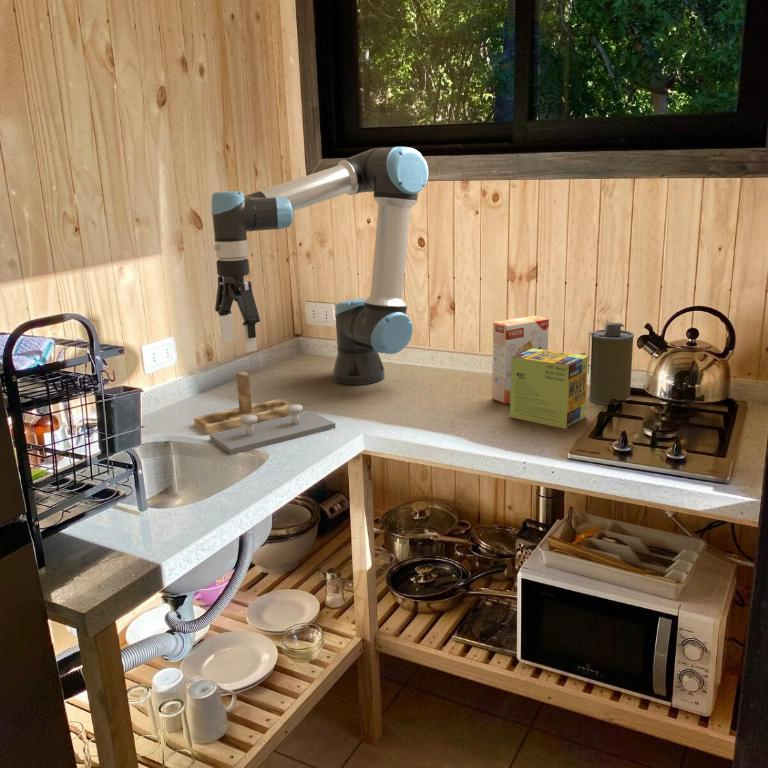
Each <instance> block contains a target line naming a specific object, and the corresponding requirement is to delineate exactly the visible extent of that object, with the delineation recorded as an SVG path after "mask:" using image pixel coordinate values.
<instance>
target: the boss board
mask: <svg viewBox="0 0 768 768" xmlns="http://www.w3.org/2000/svg"><path fill="white" fill-rule="evenodd" d="M303 408H304V407H303V405H302V404H293V405H289V406H287V412H288V413H291V415H289V416H285V417H281V418H276V419H272V420H268V421H264V422H259V423H256V422H257V416H256V415H245V416H242V417H241V423H242V424H245V425H246V426H242V427H238V428H234V429H230V430H225V431H221V432H217V433H213V434H209V440H210V441H212V442H213V443H214V444H216V445H218V446H219V447H220V448H222V449H224V450H225V451H226V452H228V453H229V454H231V455H234V454H238V453H243V452H245V451H251V450H254V449H258V448H261V447H265V446H269V445H273V444H278V443H282V442H285V441H289V440H294V439H297V438H300V437H306V436H310V435H312V434H317V433H320V432H325V431H329V430H332V429H331V428H333V429H336V428H335V427H336V423H335V422H333V421H332V420H330V419H328V418H326V417H323V416H322V415H320V414H317V413H316V412H314V411H311V410H310V411H306V412H303V411H304V410H303ZM253 423H255V424H253ZM328 429H329V430H328ZM324 430H325V431H324Z"/></svg>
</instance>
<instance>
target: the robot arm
mask: <svg viewBox="0 0 768 768" xmlns="http://www.w3.org/2000/svg"><path fill="white" fill-rule="evenodd" d="M428 180H429V167H428V164H427V161H426V159H425V158H424V157H423V155H422V153H421V152H420V151H418V150H417V149H415V148H413V147H408V146H392V147H391V146H389V147H375V148H371V149H368V150H365V151H363V152H360V153H358V154H355V155H353V156H350V157H348V158H345V159H341V160H340V161H339V162H338V163H337V165H335V166H333V167H330V168H327V169H324V170H323V169H322V170H320V171H318V172H317V171H316V172H314V173H311V174H309V175H308V174H307V175H305V176H304V175H303V176H301V177H300V178H299V177H298V178H295V179H293V180H289V181H287V182H283V183H280V184H277V185H274V186H270V187H268V188H267V187H266V188H265V189H261V190H259V191H255V192H252V193H249V194H246V195H245V194H244V193H243V192H242V191H238V190H236V191H235V190H233V191H230V190H229V191H216V192H213V193H212V195H211V215H212V216H211V217H212V224H213V225H212V226H213V233H214V246H213V250H215V257H216V258H217V260H216V273H217V292H216V300H215V307H214V311H215V312H216V313H217V312H218V316H219V322H220V331H221V332H220V334H221V342H222V343H225V342H231V341H232V342H233V341H234V335H233V334H234V333H233V322H232V321H233V317H232V315H233V314H232V313H233V312H232V310H231V309H232V305H233V303H234V302H236V304H237V306H238V309H239V311H240V314H241V316H242V318H243V322H242V326H243V336H244V349H245V352H246V353H248V352H249V353H250V352H256V351H258V343H257V341H258V339H257V329H256V324H257V323H260V321H261V318H260V315H259V312H258V307H257V303H256V300H255V296H254V293H253V287H252V281H251V280H249V281H247V280H246V281H245V276H248V275H249V274H250V266H249V265H250V264H249V263H250V262H249V259H248V258H247V257H248V256H249V247H248V237H247V233H248V232H257V231H272V230H273V231H275V230H278V231H279V230H283V229H287V228H289V227H291V226H292V224H293V221H294V211H298V210H301V209H304V208H307V207H310V206H313V205H316V204H319V203H321V202H325V201H327V200H331V199H333V198H337V197H340V196H342V195H345V194H347V196H348V195H349V196H354V195H357V194H361V193H371V192H372V193H373V200H374V201H375V202H376V203H377V206H378V208H377V209H378V210H377V218H376V219H377V221H376V230H375V231H376V232H375V241H374V242H375V243H374V251H373V252H374V254H373V255H374V256H373V264H372V265H373V266H372V276H371V277H372V278H371V285H370V286H371V289H370V295H369V296H368V297H367V298H357V299H349V300H343V301H339V302H337V304H336V305H335V314H334V317H335V327H336V328H335V331H336V344H337V345H336V347H337V354H336V357H335V361H334V365H333V369H332V380H333V382H335V383H338V384H343V385H350V386H351V385H352V386H353V385H354V386H356V385H357V386H358V385H367V384H373V383H377V382H380V381H382V380H384V379H385V375H386V374H385V367H384V364H383V362H382V360H381V357H380V354H386V355H394V354H398V353H399V352H401V351H403V350H404V349H405V348H406V347H407V346H408V344H409V343H410V342H411V340H412V337H413V333H414V325H413V322H412V321H411V318H410V317H409V316H408V315H407V309H408V304H407V303H406V301H405V300H404V299H403V292H404V283H405V271H406V260H407V250H408V242H409V241H408V240H409V231H410V221H411V220H410V219H411V212H412V211H411V210H412V209H411V208H413V206H415V205H416V204H417V203H418V196H419V195H418V194H419V193H420V192H422V190H423V189H424V188H425V187H426V185H427V184H428Z"/></svg>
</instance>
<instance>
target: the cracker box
mask: <svg viewBox="0 0 768 768" xmlns="http://www.w3.org/2000/svg"><path fill="white" fill-rule="evenodd" d="M549 323H550V319H549V318H547V317H543V316H538V315H530V316H523V317H518V318H517V317H516V318H511V319H504V320H498V321H493V326H492V327H493V330H492V331H493V332H492V372H491V373H492V377H491V379H492V380H491V382H492V383H491V384H492V385H491V387H492V388H491V399H492V400H495V401H497V402H499V403H502V404H504V405H505V404H510V392H511V357H512V356H515V355H517V354H520V353H522V352H525V351H527V350H530V349H541V350H548V348H549V327H550V326H549ZM548 351H549V350H548Z"/></svg>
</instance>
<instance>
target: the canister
mask: <svg viewBox="0 0 768 768" xmlns="http://www.w3.org/2000/svg"><path fill="white" fill-rule="evenodd" d="M622 327H623V328H624V327H625V325H624V323H623V322H611V321H610V322H606V323H605V327H604V329H597V330H595V331H589V333H588V335H589V336H588V350H587V351H588V355H587V356H588V363H587V375H589V373H590V376H589V377H590V378H589V396H588V400H589V401H590V402H592V403H593V404H597V405H602V406H609V405H608V403H609V401H610V400H611V399H616V400H624V399H628V398H629V397H630V398H631V383H632V366H633V365H632V364H633V352H634V351H633V347H634V337H635V334H634V333H633V332H631V331H630V330H625V329H624V330H623V329H622ZM590 341H591V342H590ZM590 348H591V351H590ZM590 352H591V353H590ZM589 367H590V368H589ZM589 370H590V371H589Z"/></svg>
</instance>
